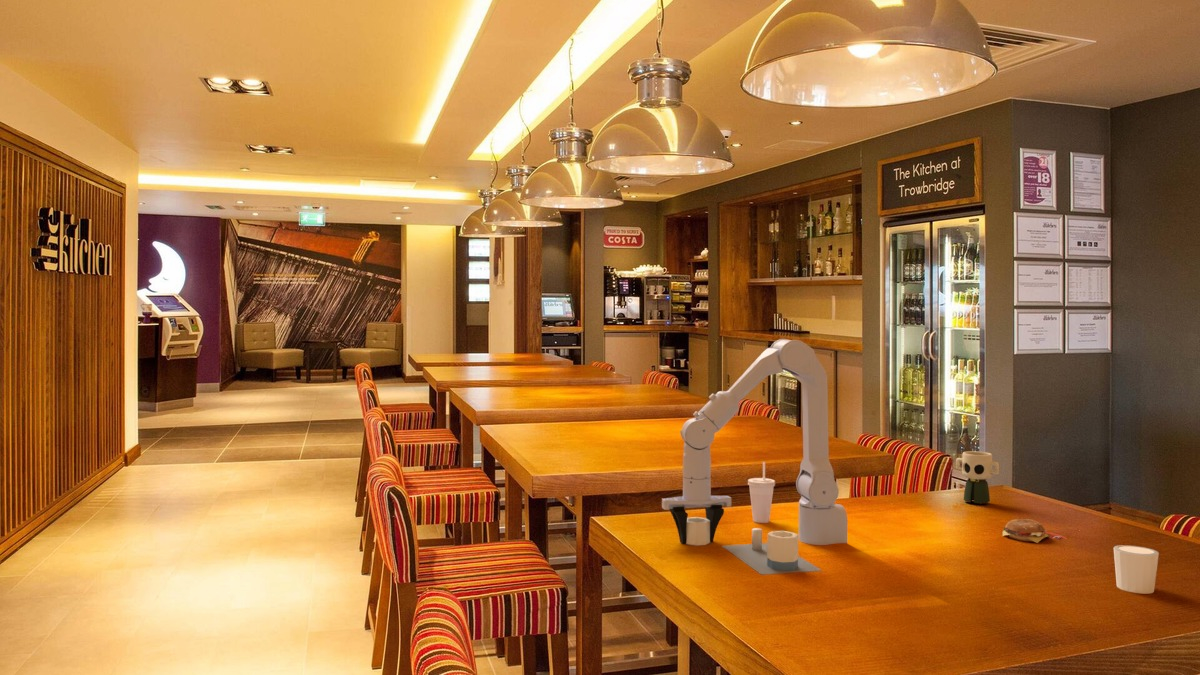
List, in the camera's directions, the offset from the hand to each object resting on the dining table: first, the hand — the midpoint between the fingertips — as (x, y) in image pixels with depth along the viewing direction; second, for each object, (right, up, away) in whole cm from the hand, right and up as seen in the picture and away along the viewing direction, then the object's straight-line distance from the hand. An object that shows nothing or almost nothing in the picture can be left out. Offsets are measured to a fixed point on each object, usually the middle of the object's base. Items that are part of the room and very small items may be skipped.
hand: (696, 542), depth 178 cm
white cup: (+75, -3, -25) cm, 79 cm away
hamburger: (+75, -2, +11) cm, 76 cm away
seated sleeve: (+14, 0, -17) cm, 22 cm away
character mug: (+78, -1, +45) cm, 90 cm away
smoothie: (+18, -1, +25) cm, 31 cm away
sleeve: (0, -1, 0) cm, 1 cm away
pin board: (+13, -2, -11) cm, 17 cm away
